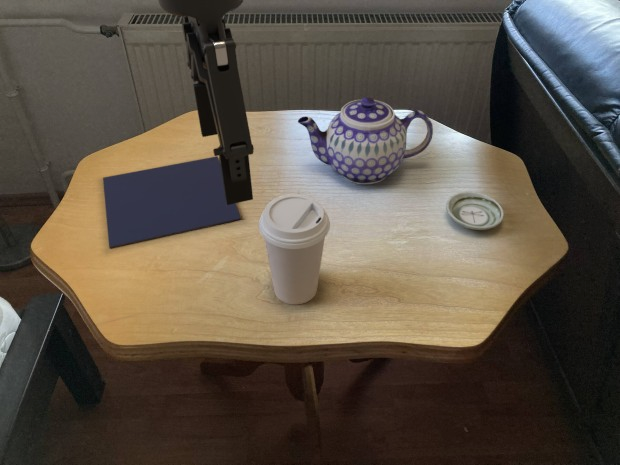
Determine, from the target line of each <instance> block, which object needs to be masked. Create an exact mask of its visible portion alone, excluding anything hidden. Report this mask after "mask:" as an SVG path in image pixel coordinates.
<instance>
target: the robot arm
mask: <svg viewBox="0 0 620 465" xmlns="http://www.w3.org/2000/svg"><path fill="white" fill-rule="evenodd" d="M157 1H158V4H159V6H160V8H161V9H162V10H163V11H165V12H166V13H168V14H171V15H173V16H176V17H182V22H181V30H182V34H183V38H184V42H185V49H186V57H187V58H186V59H187V62H186V65H187V67H188V69H189V71H190V79H192V81H193V82H194V83H193V85H192V88H193V94H194V98H195V99H194V100H195V104H196V109H197V115H198V121H199V128H200V132H201V133H200V134H201V136H202V138H205V137H211V136H217V138H218V142H219V145H218V147H215V148H213V149H212V152H213V157H216V156H218V159H219V162H220V165H221V172H222V179H223V185H224V192H225V199H226V203H227V205H230V204H235V203H236V204H239V203H243V202H248V201H253V200H254V195H253V194H254V193H253V184H252V176H251V164H250V156H251V155H253V154H254V152H255V149H254V144H253V143H252V137H251V132H250V126H249V122H248V121H249V120H248V116H247V110H246V104H245V100H244V94H243V89H242V83H241V78H240V73H239V68H238V59H237V58H238V57H237V52H236V49H237V43H236V42H235V40H234V38H233V35H232V31H231V28H230V27H227V26H226V22H225V18H224V16H225V15H226V14H227V13H229V12H233V11H234V10H235V11H236V9H238V8H240V6H242V4H243V2H244V0H157ZM195 82H196V83H195Z"/></svg>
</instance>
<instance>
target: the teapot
mask: <svg viewBox="0 0 620 465" xmlns="http://www.w3.org/2000/svg"><path fill="white" fill-rule="evenodd" d="M415 119H421V120H422V121H424V123H425V125H426V135H425V137H424V140H423V141H422V142H421V143H420V144H418V145H417V146H415V147H413V148H411V149H407V137H408V136H407V134H408V130H409V127H410V125H411V123H412V121H413V120H415ZM297 123H298V124H300V125H302V126H303V127H305V128H306V130H307V132H308V136H309V140H310V141H309V142H310V146H311V149H312V152H313V154H314V156H315V158H317V160H319V161H320V162H322V163H323V164H326V165H329V166H330V167H331V168H332V169H334V170H335V171H336V172H337V173H338V174H339V175H340V176H342V177H343V178H344V179H345V180H347V181H348V182H350V183H353V184H356V185H357V184H358V185H373V184H377V183H381V182H383V181H384V180H386V178H387V177H389V176H390V175H392V174H393V173H394V172H395V171H397V169H399V167H400V166H401V164H402V162H403V160H404V159H409V158H412V157H415V156H417V155H419V154H420V153H422V152H424V151H425V150H426V149H427V148H428V146H429V145H430V144H431V141H432V139H433V135H434V126H433V123H432V121H431V120H430V118H429V117H428V116H427V114H426V113H424V112H423V111H422V110H418V109H416V110H413V111H412V112H410V113H408V114H407V115H406V116H405V117H404V118H399V116H397V114H396V113H395V111H394V109H393V107H391V105H389V104H388V103H386V102H383V101H381V100H377V99H374V98H373V97H370V96H367V97H363V98H361V99H355V100H351V101H348V102H347V103H345V104H344V105H343V106H342V107H341V109H340V112H338V113H337V114H336V115H334V117H333V118H332V119H331V121H330V122H329V123H328V126H327V128H326V129H325V130H324V131H322V130H320V127H319V126H318V125H317V123H316V121H315V120H314V119H313V118H312V117H310V116H308V115H307V116H306V115H305V116H301V117H300V118H299V119H298V120H297Z"/></svg>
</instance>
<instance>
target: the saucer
mask: <svg viewBox="0 0 620 465" xmlns="http://www.w3.org/2000/svg"><path fill="white" fill-rule="evenodd" d="M445 210H446V212H447V215H448V216H449V217H450V218H451V220H453V221H454V222H455V223H457V225H460V226H462V227H464V228H466V229H470V230H474V231H475V230H476V231H486V230H491V229H494V228H496V227H497V226H499V225H500V224H501V223H502V222H503V220H504V217H505V213H504V212H505V211H504V208H503V207H502V205H501V204H500V203H499V201H497V200H495V199H494V198H492V197H491V196H489V195H488V194H487V195H486V194H484V193H481V192H477V191H461V192H457V193H455V194H452V195H451V196H450V197H449V198H448V199H447V201H446V204H445Z"/></svg>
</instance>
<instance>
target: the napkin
mask: <svg viewBox="0 0 620 465" xmlns="http://www.w3.org/2000/svg"><path fill="white" fill-rule="evenodd" d="M102 183H103V193H104V205H105V206H104V207H105V216H106V228H107V239H108V248H109V249H114V248H118V247H119V248H120V247H123V246H128V245H132V244H133V245H134V244H137V243H142V242H146V241H151V240H154V239H155V240H156V239H160V238H164V237H168V236H173V235H177V234H183V233H188V232H191V231H197V230H201V229H205V228H209V227H213V226H214V227H215V226H219V225H223V224H224V225H225V224H227V223H233V222H237V221H241V220H242V216H241V213H240V211H239V209H238V205H237V203H235V204H230V205H227V203H226V199H225V192H224V185H223V179H222V172H221V165H220V158H219V155H218V156H211V157H206V158H201V159H195V160H190V161H184V162H180V163H179V162H178V163H173V164H169V165H163V166H158V167H152V168H146V169H141V170H137V171H131V172H126V173H119V174H115V175H109V176H104V177H102Z"/></svg>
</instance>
